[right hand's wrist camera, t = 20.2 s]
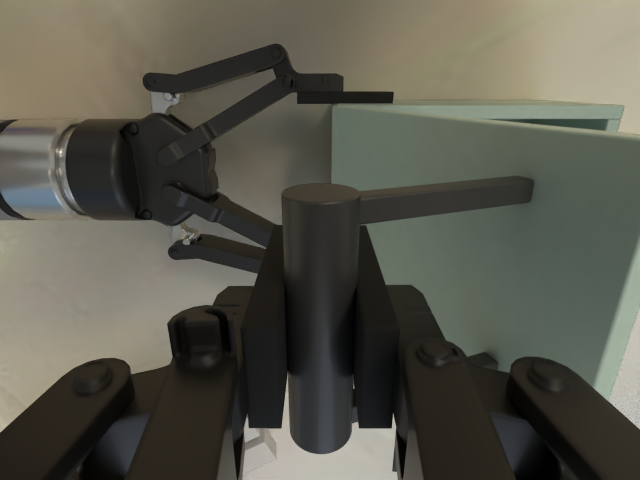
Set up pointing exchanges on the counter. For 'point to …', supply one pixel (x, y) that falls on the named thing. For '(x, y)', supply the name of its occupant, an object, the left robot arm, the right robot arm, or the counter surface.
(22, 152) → the left robot arm
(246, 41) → the counter surface
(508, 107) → the chest
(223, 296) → the right robot arm
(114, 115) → the counter surface
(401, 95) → the counter surface
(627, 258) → the lid
